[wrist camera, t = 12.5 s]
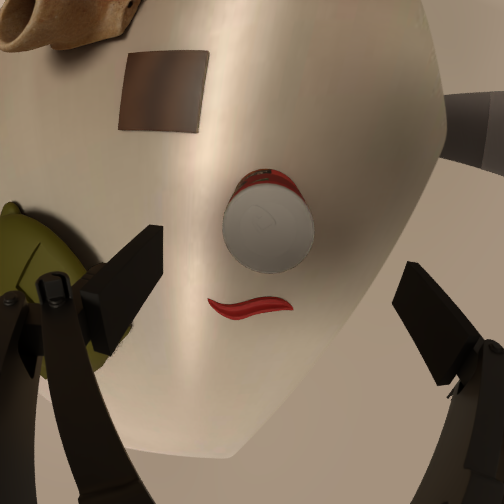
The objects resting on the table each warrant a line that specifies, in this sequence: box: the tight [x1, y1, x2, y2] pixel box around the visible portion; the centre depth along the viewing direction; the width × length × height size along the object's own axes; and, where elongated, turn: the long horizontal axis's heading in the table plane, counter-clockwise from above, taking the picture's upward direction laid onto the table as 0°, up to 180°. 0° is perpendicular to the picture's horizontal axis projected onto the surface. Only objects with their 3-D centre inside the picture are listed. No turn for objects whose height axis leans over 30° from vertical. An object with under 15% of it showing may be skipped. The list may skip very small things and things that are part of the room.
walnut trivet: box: [118, 50, 209, 133], centre depth 28 cm, size 10×10×1 cm
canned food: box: [222, 169, 315, 274], centre depth 29 cm, size 8×8×11 cm
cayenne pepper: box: [208, 297, 293, 320], centre depth 39 cm, size 12×5×2 cm, turn 78°
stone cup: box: [0, 0, 141, 53], centre depth 17 cm, size 15×12×15 cm
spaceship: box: [0, 202, 131, 379], centre depth 37 cm, size 35×31×10 cm
